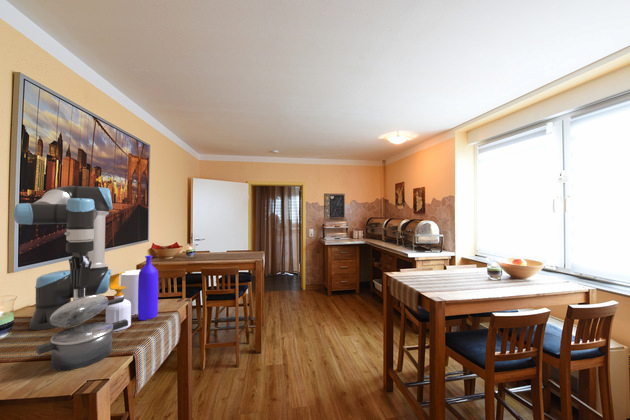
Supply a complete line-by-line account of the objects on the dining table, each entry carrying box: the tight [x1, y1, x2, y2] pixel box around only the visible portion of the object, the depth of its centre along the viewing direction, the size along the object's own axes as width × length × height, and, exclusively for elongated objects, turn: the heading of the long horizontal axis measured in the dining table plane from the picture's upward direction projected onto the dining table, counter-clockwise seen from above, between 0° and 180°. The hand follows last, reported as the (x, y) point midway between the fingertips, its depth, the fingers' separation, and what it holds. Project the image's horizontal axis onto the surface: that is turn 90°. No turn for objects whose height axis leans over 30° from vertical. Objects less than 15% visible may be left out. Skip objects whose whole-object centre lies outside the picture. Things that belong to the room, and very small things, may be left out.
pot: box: [36, 319, 128, 372], centre depth 94 cm, size 17×25×9 cm, turn 150°
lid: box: [50, 294, 124, 330], centre depth 98 cm, size 17×22×2 cm
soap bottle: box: [105, 271, 132, 333], centre depth 118 cm, size 9×9×25 cm
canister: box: [120, 268, 142, 316], centre depth 139 cm, size 14×14×20 cm
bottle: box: [137, 255, 159, 321], centre depth 129 cm, size 8×8×30 cm
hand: (79, 305), depth 96 cm, fingers closed
